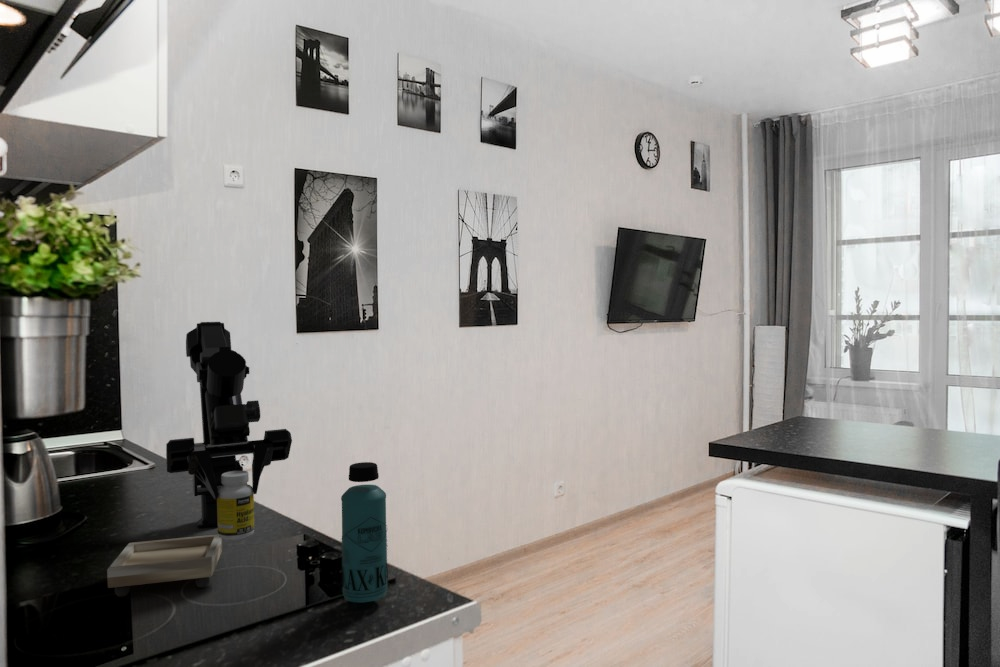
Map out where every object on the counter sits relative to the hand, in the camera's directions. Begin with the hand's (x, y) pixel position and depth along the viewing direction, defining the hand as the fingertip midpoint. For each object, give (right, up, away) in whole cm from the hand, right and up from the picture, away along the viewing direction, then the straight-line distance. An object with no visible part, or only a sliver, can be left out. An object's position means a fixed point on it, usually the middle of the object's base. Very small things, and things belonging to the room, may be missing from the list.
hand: (236, 495), depth 106 cm
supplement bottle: (0, -7, +2) cm, 7 cm away
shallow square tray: (-11, -13, 0) cm, 17 cm away
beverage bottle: (+22, -13, -10) cm, 28 cm away
